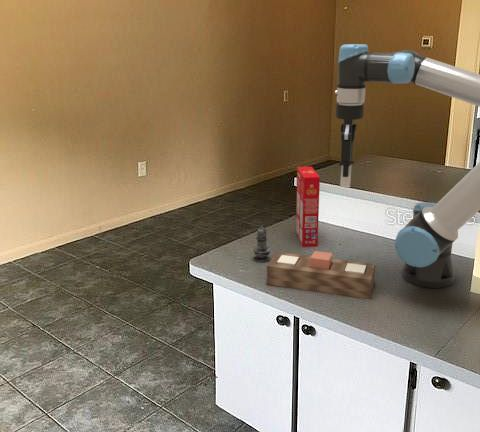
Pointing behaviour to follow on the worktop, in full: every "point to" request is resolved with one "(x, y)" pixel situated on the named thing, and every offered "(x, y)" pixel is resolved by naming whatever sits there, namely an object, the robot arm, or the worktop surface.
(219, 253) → the worktop surface
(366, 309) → the worktop surface
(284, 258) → the far button
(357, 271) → the near button
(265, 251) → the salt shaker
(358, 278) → the mount
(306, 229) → the food packaging
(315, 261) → the middle button
